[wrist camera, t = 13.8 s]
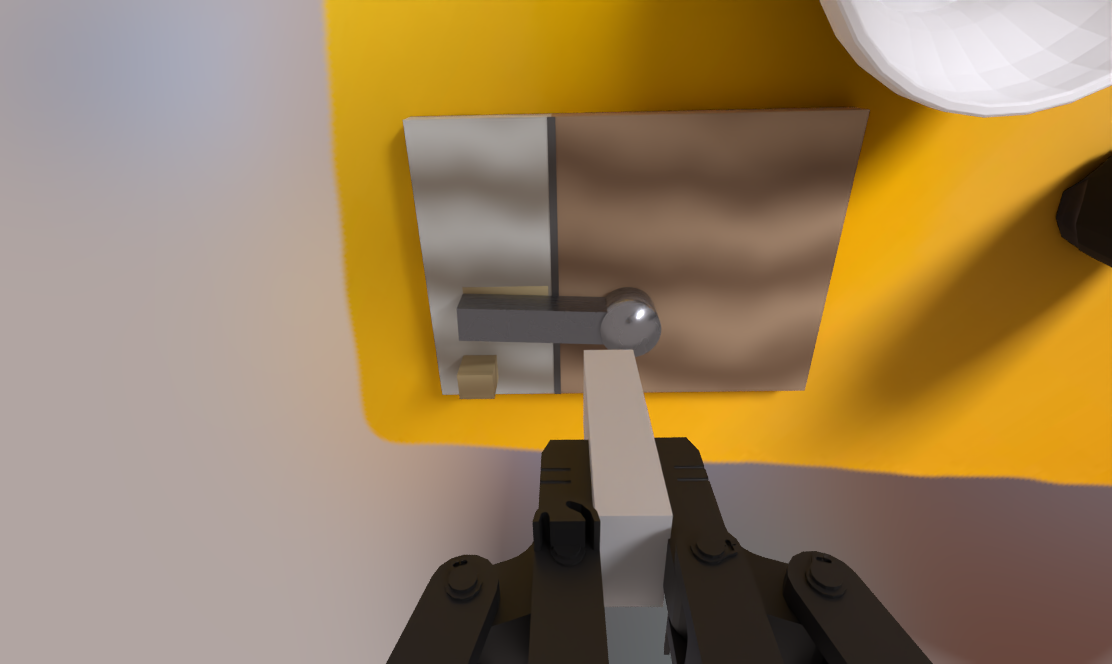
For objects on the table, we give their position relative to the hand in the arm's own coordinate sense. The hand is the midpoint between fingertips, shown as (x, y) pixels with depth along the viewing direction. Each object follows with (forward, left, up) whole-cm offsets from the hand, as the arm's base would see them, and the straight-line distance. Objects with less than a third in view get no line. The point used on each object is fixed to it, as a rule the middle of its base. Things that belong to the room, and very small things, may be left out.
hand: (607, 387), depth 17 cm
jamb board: (+4, +3, -22) cm, 23 cm away
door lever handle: (+7, -2, -20) cm, 21 cm away
